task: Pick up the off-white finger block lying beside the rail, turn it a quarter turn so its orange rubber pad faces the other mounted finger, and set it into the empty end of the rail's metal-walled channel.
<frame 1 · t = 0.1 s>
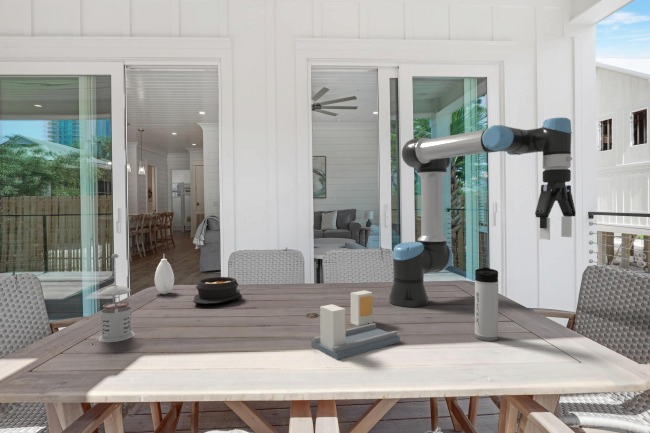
hand: (555, 238, 123), 28 cm above the table, fingers open, 13 cm apart
bulb air blower: (164, 294, 176), on the table
travel mug: (486, 338, 115), on the table
rail: (356, 343, 111), on the table
casserole: (217, 300, 163), on the table
french press: (116, 336, 120), on the table
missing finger: (367, 324, 128), on the table
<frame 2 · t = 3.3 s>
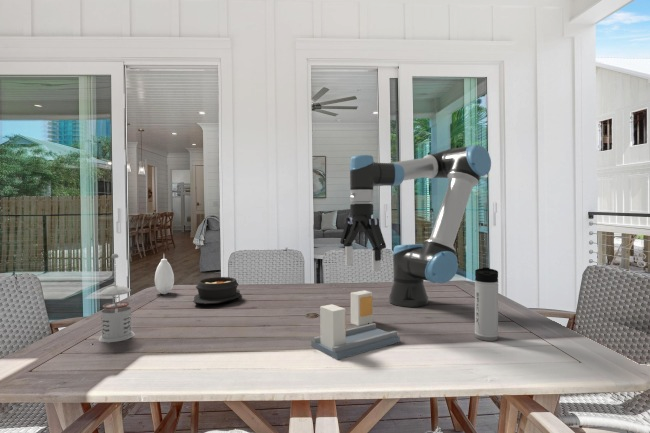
hand: (361, 268, 130), 18 cm above the table, fingers open, 13 cm apart
nothing on the table moved.
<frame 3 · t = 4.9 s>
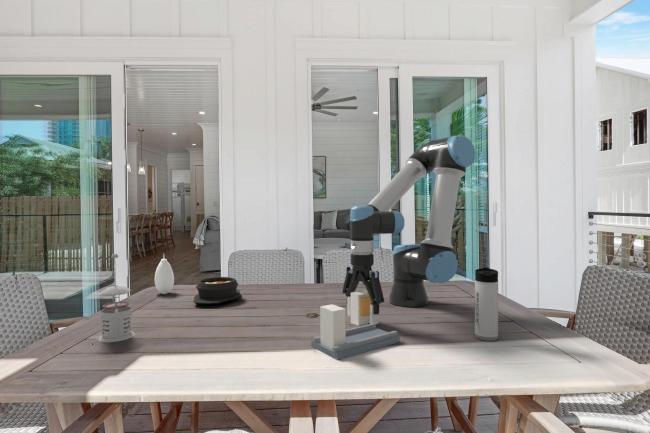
hand: (362, 319, 130), 1 cm above the table, fingers open, 11 cm apart
nothing on the table moved.
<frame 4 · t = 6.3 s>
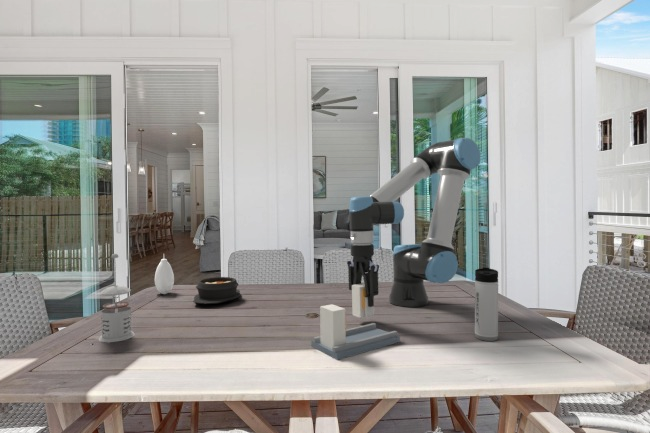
hand: (363, 314, 130), 3 cm above the table, fingers closed on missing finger, 5 cm apart
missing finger: (369, 316, 129), point 3 cm above the table, touching gripper
everything else where it was.
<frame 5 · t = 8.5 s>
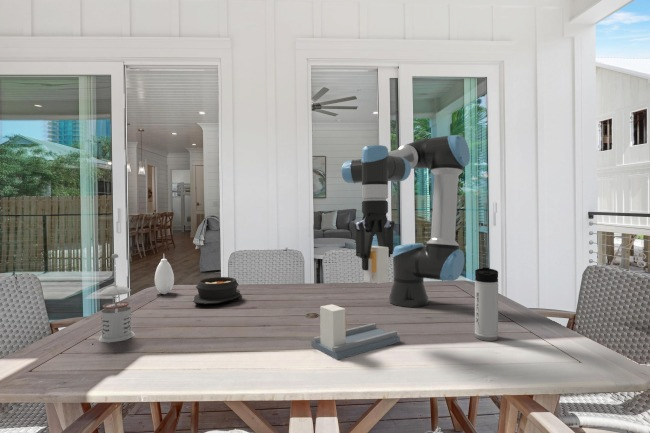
hand: (374, 280, 115), 17 cm above the table, fingers closed on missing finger, 5 cm apart
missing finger: (369, 282, 113), point 17 cm above the table, touching gripper
everything else where it was.
when the fingers open (3 cm above the table, at t = 10.7 s): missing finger stays where it is, resting on rail.
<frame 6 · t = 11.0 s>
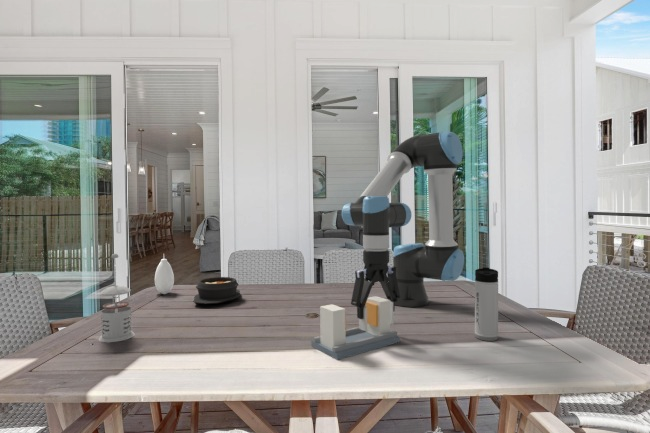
hand: (376, 326, 115), 4 cm above the table, fingers open, 9 cm apart
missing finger: (370, 335, 114), point 2 cm above the table, touching rail
everything else where it was.
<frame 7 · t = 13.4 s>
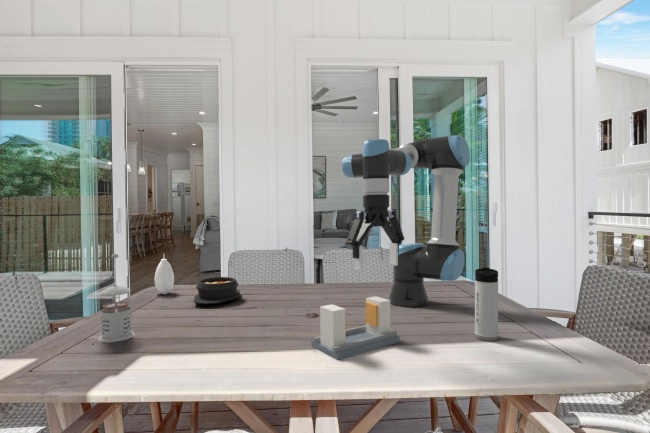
hand: (376, 267, 115), 21 cm above the table, fingers open, 13 cm apart
nothing on the table moved.
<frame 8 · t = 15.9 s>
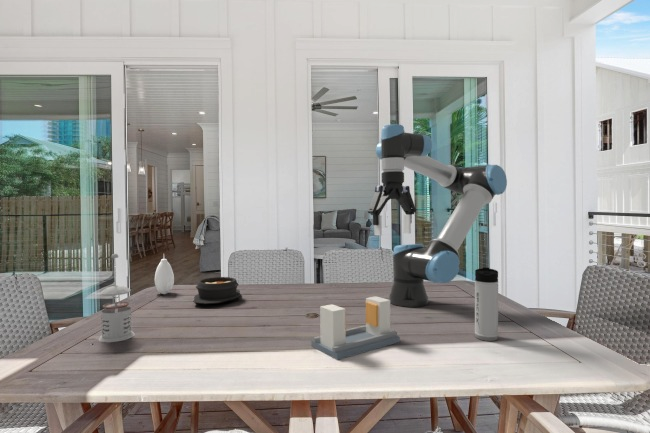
hand: (392, 234, 134), 29 cm above the table, fingers open, 13 cm apart
nothing on the table moved.
at the end: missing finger 0.2 cm from the target spot on the rail, point 1.5 cm above the rail's base; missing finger tilted 0°; the gripper is holding nothing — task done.
